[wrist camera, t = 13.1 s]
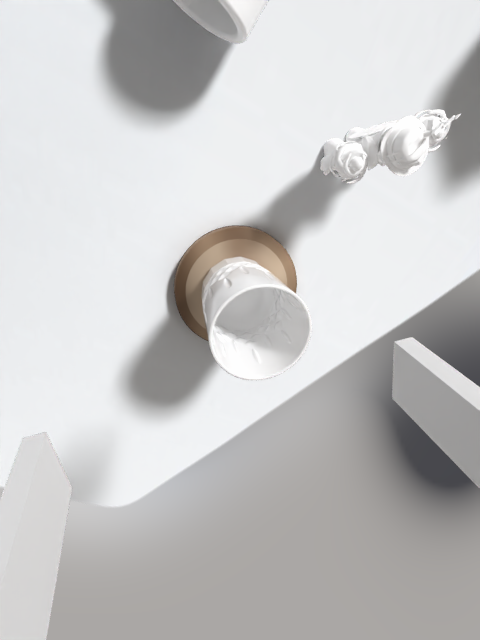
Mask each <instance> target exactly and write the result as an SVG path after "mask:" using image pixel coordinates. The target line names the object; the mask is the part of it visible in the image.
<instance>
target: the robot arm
mask: <svg viewBox="0 0 480 640" xmlns="http://www.w3.org/2000/svg"><path fill="white" fill-rule="evenodd" d="M392 398H393V400H394V401H395V402H396V403H397V404H398V405H399V406H400V407H401V408H402V409H403V410H404V411H405V412H406V413H407V414H408V415H409V416H410V417H411V418H412V419H413V420H414V421H415V422H416V423H417V424H418V425H419V426H420V427H421V428H422V429H423V431H424V432H425V433H427V435H428V436H429V437H430V438H431V439H432V440H433V441H434V442H435V443H436V444H437V445H438V446H439V447H440V448H441V449H442V450H443V451H444V452H445V453H446V454H447V455H448V456H449V457H450V458H451V459H452V460H453V461H454V462H455V464H456V465H457V466H458V467H459V468H461V470H462V471H463V472H464V473H465V474H466V475H467V476H468V477H469V478H470V479H471V480H472V481H473V482H474V483H475V484H476V485H477V486H478V487H479V488H480V387H479V386H477V385H476V384H475V383H473V382H472V381H470V380H469V379H468V378H466V377H465V376H464V375H462V374H461V373H460V372H458V371H457V370H456V369H454V368H453V367H452V366H450V365H449V364H447V363H446V362H445V361H443V360H442V359H441V358H439V357H438V356H437V355H435V354H434V353H432V352H431V351H430V350H429V349H427V348H426V347H424V346H423V345H422V344H420V343H419V342H418V341H416V340H415V339H414V338H412V337H411V338H407V339H403V340H399V341H395V342H394V360H393V389H392ZM71 493H72V486H71V484H70V482H69V480H68V478H67V475H66V473H65V471H64V469H63V467H62V465H61V463H60V461H59V458H58V456H57V454H56V452H55V450H54V448H53V446H52V443H51V441H50V439H49V437H48V435H47V433H46V432H44V433H40V434H36V435H32V436H28V437H24V438H23V439H22V441H21V444H20V447H19V450H18V452H17V455H16V458H15V460H14V463H13V466H12V469H11V471H10V474H9V477H8V480H7V482H6V485H5V488H4V491H3V493H2V496H1V499H0V640H46V636H47V631H48V625H49V619H50V613H51V608H52V602H53V596H54V591H55V585H56V579H57V573H58V568H59V562H60V556H61V550H62V545H63V538H64V533H65V527H66V522H67V516H68V510H69V504H70V499H71Z"/></svg>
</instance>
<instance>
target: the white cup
mask: <svg viewBox="0 0 480 640" xmlns="http://www.w3.org/2000/svg"><path fill="white" fill-rule="evenodd" d="M201 298H202V304H203V313H204V320H205V325H206V330H207V335H208V340H209V345H210V350H211V353H212V355H213V357H214V359H215V361H216V362H217V363H218V365H219V366H220V367H221V368H222V369H223V370H225V371H226V372H227V373H229V374H231V375H233V376H235V377H237V378H241V379H245V380H263V379H268V378H272V377H275V376H277V375H279V374H281V373H283V372H285V371H286V370H288V369H289V368H291V367H292V366H293V365H294V364H295V363H296V362H297V361H298V360H299V359H300V358H301V356H302V355H303V353H304V352H305V350H306V348H307V346H308V344H309V341H310V337H311V332H312V321H311V316H310V313H309V310H308V308H307V306H306V304H305V303H304V302H303V300H302V299H301V298H300V297H299V296H298V295H297V294H296V293H294V292H293V291H292V290H291V289H290V288H289V287H287V286H286V285H285V284H284V283H283V282H282V281H280V280H279V279H278V278H277V277H276V276H275V275H273V274H272V273H271V272H269V271H268V270H267V269H265V268H263V267H261V266H260V265H259V264H258V263H257V262H256V261H254V260H250V259H247V258H244V257H241V256H240V257H234V258H227V259H224V260H222V261H221V262H219V263H218V264H216V265H215V266H213V267H212V268H211V269H210V270H209V272H208V274H207V275H206V277H205V279H204V280H203V284H202V295H201Z"/></svg>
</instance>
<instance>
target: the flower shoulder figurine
mask: <svg viewBox="0 0 480 640" xmlns="http://www.w3.org/2000/svg"><path fill="white" fill-rule="evenodd" d="M426 111H430V112H429V113H427V114H424V115H422V116H421V117H419V119H418V118H416V117H417V116H418V115H419V114H420V113H422V112H426ZM461 114H462V113H461ZM461 114H458V115H457V116H455V115H453V116H452V117H451V118H450V119H449V118H447V117H446V114H445V111H444V110H440V109H437V110H424V111H420V112H418V113H416V115H415V117H414V116H406V117H404V118H402V119H400V120H393V121H389V122H385V123H381V124H378V125H375V126H372V127H369V128H366V129H362V128H358V127H355V128H352V129H351V130H349V131H348V132H347V134H346V142H343V141H342V140H340V139H337V138H331V139H329V140H327V141H326V142H325V144H324V157H323V159H322V160H321V166H320V169H321V170H322V171H324V172H323V173H324V175H327V174H328V173H330V172H332V173H333V175H335V176H336V177H342V178H344V180H343V179H342V182H344V181H347V180H349V179H352V178H355V177H357V176H358V178H357V179H355V180H354V181H350V182H346V183H347V184H352V183H356V182H358V181H359V180H360V179H361V178H362V177H363V176H364V174H365V172H366V168H367V167H368V170H370V169H373V168H374V167H376V166H377V164H378V163H379V164H380V165H381V166H385V165H386V166H387V167H388V168H389V169H390V170H391V171H392V172H393V173H394V174H396V175H398V176H408V175H410V174H412V173H414V172H415V171H416V170H418V169H419V168H420V167H421V165H422V164H423V162H424V161H425V159H426V157H427V154H428V153H429V152H433V151H435V150H436V149H438V148H439V147H440V145H439V146H437V147H435V148H433V149H429V147H432V146H434V145H436V144H438V143H439V142H440V141H442V140H443V139H444V138H445V136H446V135H447V133H448V131H449V128H450V123H451V122H452V121H453V120H456V119H457V118H458V117H459V116H460V115H461ZM454 116H455V117H454ZM454 118H455V119H454ZM336 170H337V172H338V174H339V175H340V176H337V175H336V174H335V173H334V171H336Z"/></svg>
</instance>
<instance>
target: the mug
mask: <svg viewBox="0 0 480 640" xmlns="http://www.w3.org/2000/svg"><path fill="white" fill-rule="evenodd" d="M173 1H174V2H175V3H176V4H177V5H178V6H179V7H180V8H181V9H182V10H183V11H184V12H185V13H186V14H187V15H189V16H190V17H191V18H192V19H193V20H195V21H196V22H197V23H198V24H200V25H201V26H202V27H204V28H205V29H207V30H208V31H209V32H211V33H213V34H214V35H216V36H218V37H219V38H221V39H223V40H226V41H228V42H231V43H236V44H240V43H243V42H245V41H246V40H247V38H248V37H249V35H250V33H251V31H252V29H253V28H254V26H255V24H256V22H257V21H258V19H259V17H260V15H261V14H262V12H263V10H264V8H265V6H266V5H267V3H268V1H269V0H173Z"/></svg>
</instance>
